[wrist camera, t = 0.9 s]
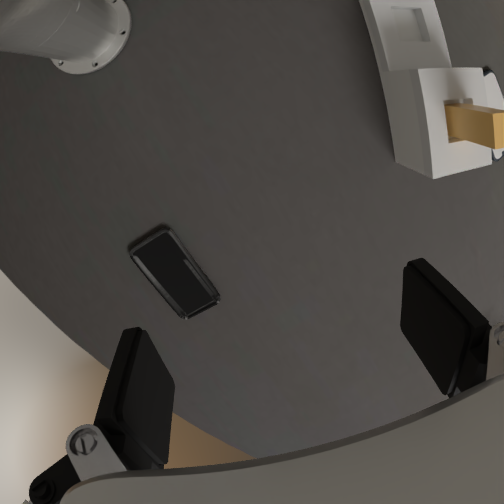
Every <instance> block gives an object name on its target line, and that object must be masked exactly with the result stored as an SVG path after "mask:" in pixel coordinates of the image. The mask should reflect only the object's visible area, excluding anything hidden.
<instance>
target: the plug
mask: <svg viewBox="0 0 504 504" xmlns="http://www.w3.org/2000/svg"><path fill="white" fill-rule="evenodd" d="M444 109H445V116H446V124H447V132H448V136H452V137H455V138H459V139H463V140H466V141H469V142H473V143H476V144H479V145H483V146H486V147H489V148H492V149H500V148H504V110H500V109H495V108H489V107H484V106H478V105H471V104H464V103H454V104H444Z"/></svg>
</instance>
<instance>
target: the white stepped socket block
mask: <svg viewBox="0 0 504 504" xmlns="http://www.w3.org/2000/svg"><path fill="white" fill-rule="evenodd" d="M359 3H360V6H361V9H362V12H363V15H364V18H365V21H366V25H367V28H368V31H369V35H370V38H371V42H372V46H373V49H374V53H375V57H376V61H377V65H378V69H379V73H380V78H381V82H382V87H383V91H384V96H385V101H386V106H387V111H388V117H389V123H390V129H391V135H392V141H393V148H394V155H395V162H396V163H398V164H401V165H403V166H405V167H408V168H410V169H412V170H414V171H417V172H419V173H421V174H423V175H425V176H428V177H430V178H432V179H435V178H439V177H443V176H447V175H451V174H455V173H459V172H462V171H466V170H470V169H474V168H478V167H482V166H486V165H490V164H492V152H491V148H489V147H486V146H483V145H479V144H476V143H473V142H469V141H466V140H463V139H459V138H455V137H452V136H448V132H447V124H446V116H445V109H444V104H454V103H464V104H471V105H478V106H484V107H488V103H487V95H486V88H485V82H484V76H483V70H482V68H452V67H451V62H450V58H449V53H448V49H447V45H446V41H445V37H444V33H443V29H442V25H441V22H440V19H439V15H438V12H437V9H436V5H435V2H434V0H359Z"/></svg>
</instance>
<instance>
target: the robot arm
mask: <svg viewBox="0 0 504 504" xmlns="http://www.w3.org/2000/svg"><path fill="white" fill-rule="evenodd" d="M115 1H116V2H115ZM114 2H115V3H114ZM131 23H132V19H131V13H130V10H129V8H128V6H127V5H126V3H125V2H124V1H123V0H0V51H4V52H13V53H20V54H27V55H33V56H40V57H46V58H50V59H51V60H52V62H53V63H54V65H55V66H57V67H58V68H59V69H60V70H62V71H64V72H67V73H71V74H87V73H91V72H94V71H96V70H99V69H101V68H102V67H104V66H106V65H107V64H109V63H110V62H111V61H112V60H113V59H114V58H115V57H116V56H117V55H118V54H119V53H120V52H121V50H122V49H123V47H124V46H125V44H126V42H127V40H128V37H129V35H130V31H131ZM123 32H126V33H125V34H124V35H123ZM62 63H63V65H62ZM96 63H98V65H97V66H96ZM488 323H489V321H488V320H487V319H486V318H485V317H484V316H483V315H482V314H481V313H480V312H479V311H478V310H477V309H476V308H475V307H474V306H473V305H472V304H471V303H470V302H469V301H468V300H467V299H466V298H465V297H464V296H463V295H462V294H461V293H460V292H459V291H458V290H457V289H456V288H455V287H454V286H453V285H452V284H451V283H450V282H449V281H448V280H447V279H446V278H444V277H443V276H442V275H441V274H440V273H439V272H438V271H437V270H436V269H435V268H434V267H433V266H432V265H430V264H429V263H428V262H427V261H426V260H425V259H424V258H419V259H416V260H412V261H409V262H408V263H407V266H406V267H404V270H403V291H402V308H401V321H400V326H401V330H402V332H403V334H404V335H405V337H406V338H407V340H408V341H409V343H410V344H411V346H412V347H413V349H414V350H415V352H416V353H417V355H418V356H419V358H420V359H421V361H422V362H423V364H424V366H425V367H426V369H427V370H428V372H429V373H430V375H431V376H432V378H433V380H434V381H435V383H436V384H437V386H438V387H439V389H440V391H441V392H442V394H444V395H446V394H447V395H448V397H449V399H447V400H444V401H442V402H440V403H438V404H435V405H433V406H431V407H429V408H426V409H424V410H422V411H419V412H417V413H415V414H412V415H410V416H407V417H405V418H402V419H400V420H397V421H394V422H392V423H389V424H386V425H383V426H381V427H378V428H375V429H372V430H369V431H366V432H363V433H360V434H357V435H354V436H350V437H347V438H344V439H340V440H337V441H333V442H330V443H326V444H322V445H319V446H315V447H311V448H307V449H302V450H298V451H294V452H289V453H284V454H280V455H274V456H269V457H264V458H258V459H253V460H246V461H241V462H233V463H226V464H217V465H208V466H197V467H186V468H173V469H164V464H167V462H168V455H169V443H170V431H171V421H172V411H173V401H174V391H175V384H174V381H173V378H172V377H171V375H170V373H169V371H168V370H167V368H166V366H165V364H164V363H163V361H162V359H161V357H160V355H159V354H158V352H157V350H156V348H155V346H154V344H153V342H152V341H151V339H150V337H149V335H148V333H147V331H146V330H142V329H141V328H140V327H135V328H130V329H125V330H124V331H123V333H122V336H121V338H120V341H119V344H118V347H117V350H116V353H115V356H114V359H113V362H112V365H111V368H110V371H109V374H108V377H107V380H106V383H105V387H104V390H103V393H102V397H101V400H100V403H99V407H98V410H97V413H96V417H95V421H94V424H93V425H90V424H86V425H81V426H79V427H77V428H76V429H75V430H73V431H72V432H71V434H70V435H69V437H68V439H67V441H66V451H67V455H65V456H64V457H63V458H62V459H60V460H59V461H58V462H56V463H55V464H54V465H53V466H51V467H50V468H48V469H47V470H46V471H44V472H43V473H41V474H40V475H39V476H37V477H36V478H35V479H34V480H33V482H32V483H31V485H30V489H29V497H30V501H29V502H28V501H27V500H25V501H24V502H23V504H504V322H500V323H497V324H496V325H494V326H493V327H491V326H490V325H489V324H488Z"/></svg>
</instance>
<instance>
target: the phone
mask: <svg viewBox="0 0 504 504" xmlns="http://www.w3.org/2000/svg"><path fill="white" fill-rule="evenodd" d="M130 257H131V259H132V260H133V262H134V263H135V264H136V265H137V267H138V268H139V269H140V270H141V272H142V273H143V274H144V275H145V276H146V278H147V279H148V280H149V281H150V283H151V284H152V285H153V286H154V287H155V289H156V290H157V291H158V292H159V293H160V295H161V296H162V297H163V298H164V299H165V301H166V302H167V303H168V304H169V305H170V306H171V308H172V309H173V310H174V311H175V312H176V313H177V314H178V316H179V317H180V318H182V319H189V318H191V317H193V316H195V315H197V314H199V313H201V312H203V311H205V310H207V309H209V308H211V307H213V306H215V305H217V304H218V303H219V302H220V294H219V293H218V291H217V290H216V288H215V287H214V286H213V284H212V283H211V282H210V281H209V279H208V277H207V276H206V275H205V274H204V273H203V271H202V270H201V269H200V267H199V266H198V265H197V263H196V262H195V261H194V259H193V258H192V257H191V255H190V254H189V252H188V251H187V250H186V248H185V247H184V246H183V244H182V243H181V241H180V240H179V239H178V237H177V236H176V235H175V233H174V232H173V230H172V229H170V228H167V227H166V228H162V229H160V230H159V231H157V232H156V233H154V234H153V235H151V236H149V237H148V238H146V239H145V240H143V241H142V242H140V243H139V244H137V245H135V246H134V247H133V248H132V249H131V251H130Z"/></svg>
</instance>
